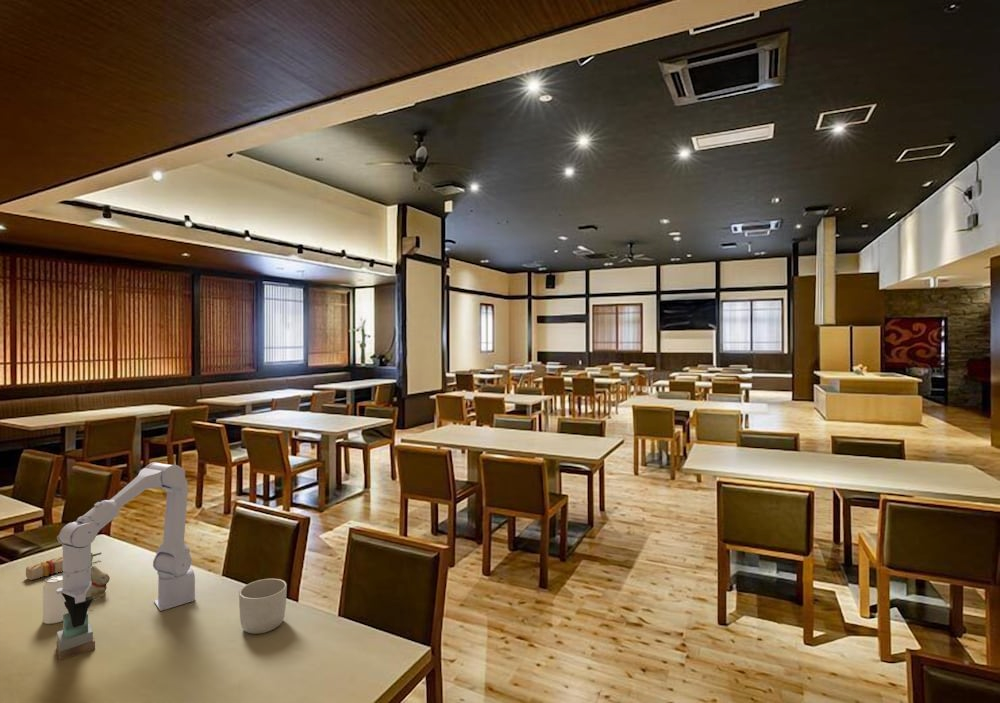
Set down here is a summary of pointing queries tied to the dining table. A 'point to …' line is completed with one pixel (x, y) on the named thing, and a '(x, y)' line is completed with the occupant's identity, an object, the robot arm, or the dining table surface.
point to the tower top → (74, 639)
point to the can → (53, 600)
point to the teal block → (68, 626)
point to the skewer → (47, 568)
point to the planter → (262, 605)
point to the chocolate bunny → (97, 583)
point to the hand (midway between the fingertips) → (76, 620)
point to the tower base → (76, 650)
